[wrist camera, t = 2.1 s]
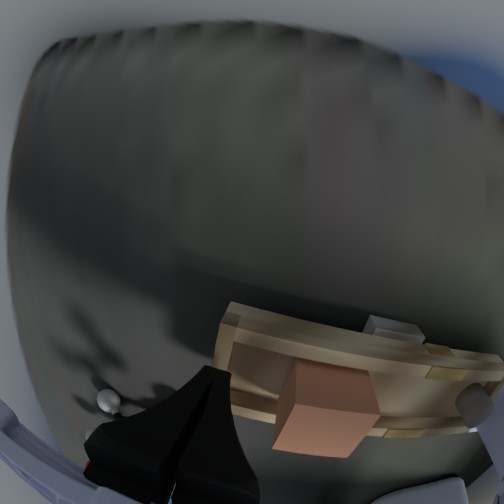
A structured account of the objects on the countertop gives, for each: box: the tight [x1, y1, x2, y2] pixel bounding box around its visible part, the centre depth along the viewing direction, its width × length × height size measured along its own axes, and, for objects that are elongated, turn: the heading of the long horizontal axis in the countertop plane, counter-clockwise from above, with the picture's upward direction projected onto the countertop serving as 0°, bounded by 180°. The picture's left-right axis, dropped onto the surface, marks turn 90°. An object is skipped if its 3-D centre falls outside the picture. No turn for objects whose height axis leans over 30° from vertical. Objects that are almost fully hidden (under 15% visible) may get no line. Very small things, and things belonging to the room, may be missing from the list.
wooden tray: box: [211, 301, 504, 438], centre depth 14 cm, size 20×7×5 cm, turn 77°
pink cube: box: [272, 357, 381, 458], centre depth 12 cm, size 4×4×4 cm
